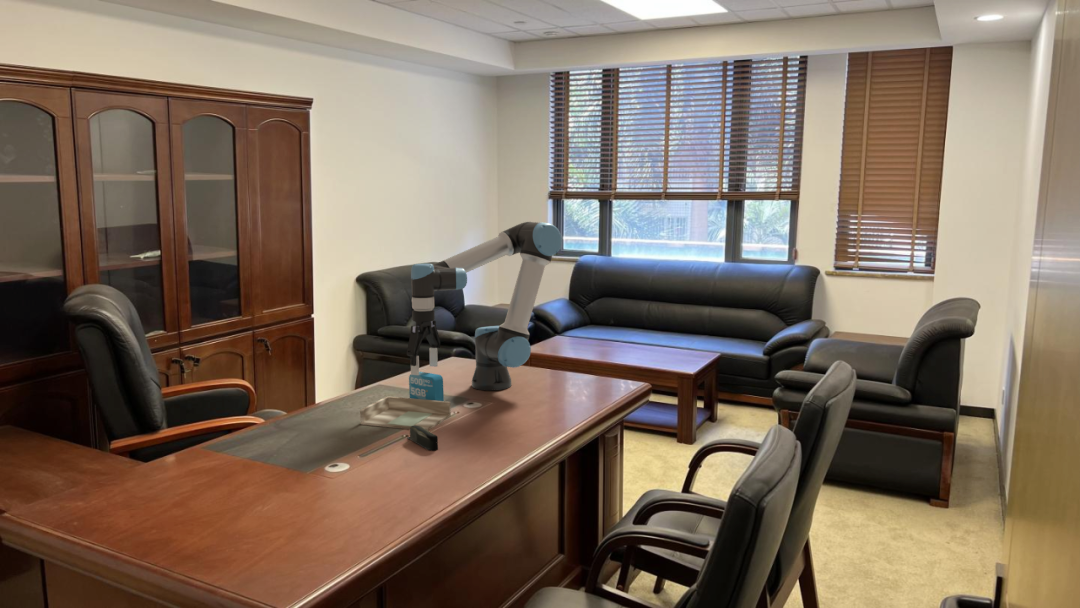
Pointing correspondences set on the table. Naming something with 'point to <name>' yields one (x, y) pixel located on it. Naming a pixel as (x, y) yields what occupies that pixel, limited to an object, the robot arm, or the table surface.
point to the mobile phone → (423, 438)
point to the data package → (426, 386)
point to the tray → (405, 413)
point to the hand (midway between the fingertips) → (424, 370)
